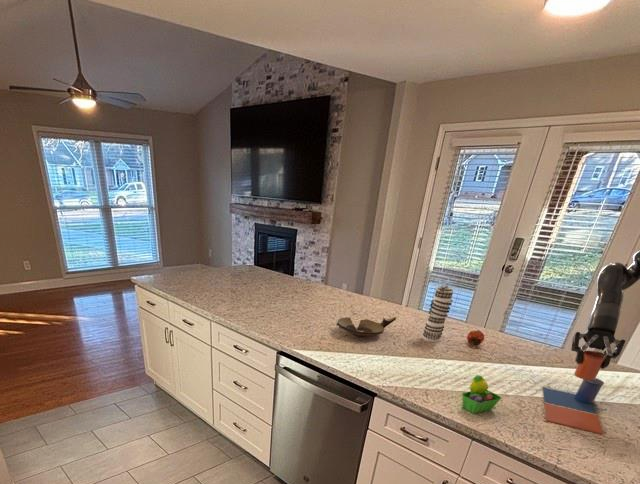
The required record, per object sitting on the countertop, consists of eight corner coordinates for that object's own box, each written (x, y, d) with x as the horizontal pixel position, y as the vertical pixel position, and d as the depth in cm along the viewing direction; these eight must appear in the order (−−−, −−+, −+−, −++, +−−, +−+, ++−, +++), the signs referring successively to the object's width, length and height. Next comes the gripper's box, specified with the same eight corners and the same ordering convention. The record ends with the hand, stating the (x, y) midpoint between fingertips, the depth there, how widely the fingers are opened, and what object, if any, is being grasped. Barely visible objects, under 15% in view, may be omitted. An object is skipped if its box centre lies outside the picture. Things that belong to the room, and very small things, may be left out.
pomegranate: (479, 352, 197) (488, 336, 198) (477, 342, 191) (487, 326, 193) (463, 349, 201) (473, 333, 203) (461, 339, 196) (471, 323, 198)
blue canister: (592, 398, 154) (602, 379, 150) (594, 405, 150) (605, 385, 145) (572, 394, 157) (582, 375, 152) (574, 401, 152) (584, 381, 148)
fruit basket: (473, 416, 141) (485, 386, 134) (454, 404, 147) (463, 375, 141) (497, 410, 145) (509, 381, 138) (477, 399, 151) (487, 371, 145)
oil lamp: (333, 324, 216) (335, 310, 212) (391, 328, 214) (394, 314, 210) (335, 339, 197) (338, 324, 193) (399, 344, 195) (403, 328, 191)
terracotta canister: (594, 374, 140) (605, 352, 136) (596, 381, 136) (608, 359, 131) (572, 371, 143) (583, 349, 138) (574, 377, 138) (584, 355, 134)
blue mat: (590, 398, 155) (591, 397, 155) (596, 414, 145) (596, 413, 145) (542, 388, 161) (542, 387, 161) (544, 402, 151) (544, 401, 151)
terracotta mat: (596, 416, 144) (597, 415, 144) (602, 434, 134) (603, 433, 134) (544, 403, 150) (544, 403, 150) (546, 421, 140) (546, 420, 140)
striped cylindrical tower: (444, 341, 201) (460, 289, 187) (427, 342, 199) (442, 289, 186) (435, 335, 208) (449, 284, 195) (418, 335, 207) (431, 284, 193)
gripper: (582, 310, 137) (569, 355, 135) (636, 318, 132) (623, 365, 129) (574, 322, 144) (561, 365, 142) (624, 330, 138) (612, 374, 136)
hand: (591, 365), depth 135 cm, fingers closed on terracotta canister, 6 cm apart
